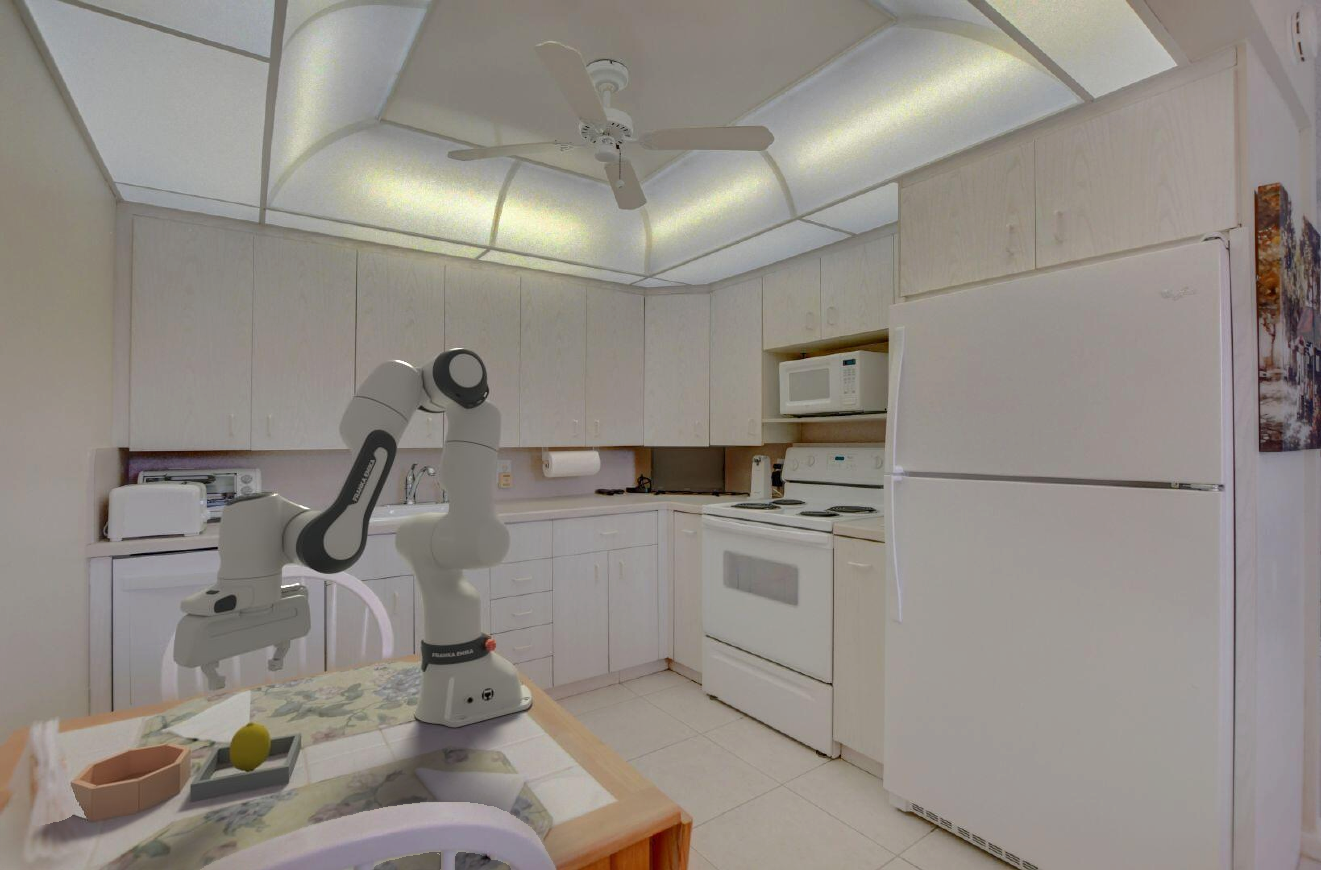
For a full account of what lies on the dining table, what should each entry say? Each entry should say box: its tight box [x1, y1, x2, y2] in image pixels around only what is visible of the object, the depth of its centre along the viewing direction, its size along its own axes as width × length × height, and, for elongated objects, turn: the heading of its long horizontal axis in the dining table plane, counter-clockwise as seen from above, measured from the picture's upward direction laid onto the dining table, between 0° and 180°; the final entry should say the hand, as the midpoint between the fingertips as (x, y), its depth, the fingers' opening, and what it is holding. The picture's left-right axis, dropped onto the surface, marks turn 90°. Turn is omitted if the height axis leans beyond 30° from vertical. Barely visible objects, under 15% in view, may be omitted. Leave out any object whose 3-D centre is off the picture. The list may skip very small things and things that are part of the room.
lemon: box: [229, 721, 271, 772], centre depth 99 cm, size 6×6×8 cm
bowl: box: [70, 742, 192, 822], centre depth 93 cm, size 13×13×4 cm
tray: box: [189, 732, 302, 803], centre depth 99 cm, size 13×13×2 cm
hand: (247, 678), depth 99 cm, fingers open, 8 cm apart
